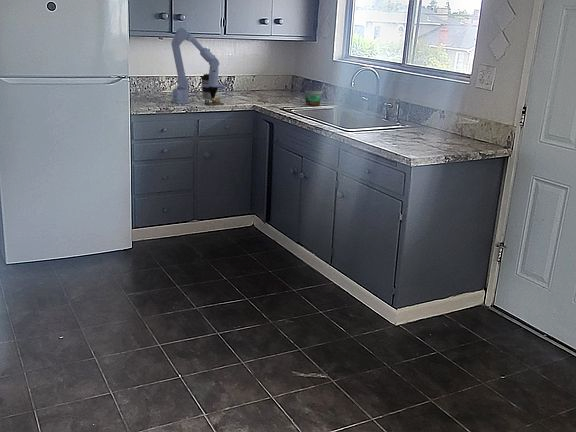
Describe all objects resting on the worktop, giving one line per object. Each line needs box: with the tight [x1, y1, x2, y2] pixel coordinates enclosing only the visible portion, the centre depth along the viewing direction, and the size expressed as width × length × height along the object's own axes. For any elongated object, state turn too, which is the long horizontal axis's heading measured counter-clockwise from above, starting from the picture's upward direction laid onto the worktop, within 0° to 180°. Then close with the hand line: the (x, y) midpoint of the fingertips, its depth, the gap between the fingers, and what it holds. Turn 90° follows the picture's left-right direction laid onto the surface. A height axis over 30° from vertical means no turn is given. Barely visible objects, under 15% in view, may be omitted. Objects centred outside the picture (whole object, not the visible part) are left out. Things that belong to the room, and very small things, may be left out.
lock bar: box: [211, 97, 221, 102], centre depth 401 cm, size 6×2×2 cm, turn 131°
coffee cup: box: [200, 73, 212, 100], centre depth 421 cm, size 10×10×15 cm
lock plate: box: [203, 98, 225, 107], centre depth 400 cm, size 11×6×4 cm, turn 131°
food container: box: [303, 89, 323, 107], centre depth 421 cm, size 12×6×10 cm, turn 105°
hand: (212, 99), depth 403 cm, fingers closed
